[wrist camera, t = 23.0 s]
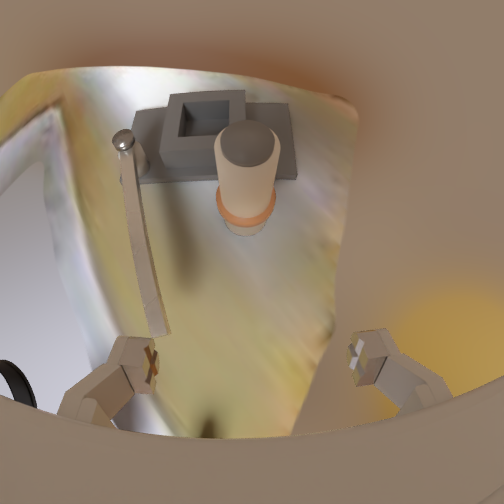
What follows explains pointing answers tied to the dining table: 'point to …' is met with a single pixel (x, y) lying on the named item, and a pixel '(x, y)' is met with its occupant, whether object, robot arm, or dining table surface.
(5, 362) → the french press
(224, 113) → the socket block
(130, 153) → the ball-tipped lever
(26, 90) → the dining table surface
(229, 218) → the plug
